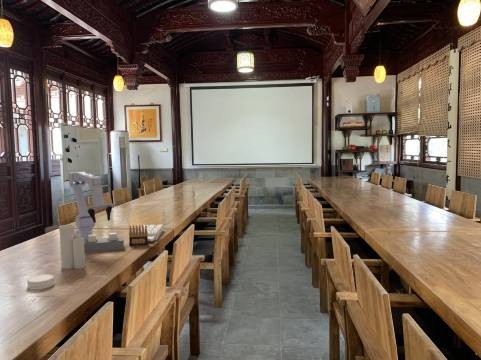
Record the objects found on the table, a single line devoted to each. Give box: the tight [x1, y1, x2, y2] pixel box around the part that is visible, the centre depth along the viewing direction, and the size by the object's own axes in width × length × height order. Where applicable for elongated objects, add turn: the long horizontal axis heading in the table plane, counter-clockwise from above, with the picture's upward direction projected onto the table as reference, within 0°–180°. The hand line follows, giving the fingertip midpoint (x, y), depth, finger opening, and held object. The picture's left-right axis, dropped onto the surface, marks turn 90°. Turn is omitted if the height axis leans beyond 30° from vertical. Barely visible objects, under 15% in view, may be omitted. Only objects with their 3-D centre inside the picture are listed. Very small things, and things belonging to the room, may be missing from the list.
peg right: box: [108, 232, 118, 241], centre depth 216 cm, size 4×4×4 cm
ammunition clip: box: [128, 224, 149, 247], centre depth 222 cm, size 11×2×12 cm, turn 102°
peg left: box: [88, 233, 97, 243], centre depth 212 cm, size 4×4×4 cm
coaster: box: [26, 273, 55, 291], centre depth 158 cm, size 10×10×4 cm
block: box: [84, 236, 125, 254], centre depth 214 cm, size 22×10×5 cm, turn 110°
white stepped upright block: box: [58, 224, 86, 270], centre depth 182 cm, size 11×7×20 cm, turn 92°
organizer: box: [135, 224, 164, 242], centre depth 243 cm, size 13×5×35 cm
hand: (102, 221), depth 210 cm, fingers open, 7 cm apart
